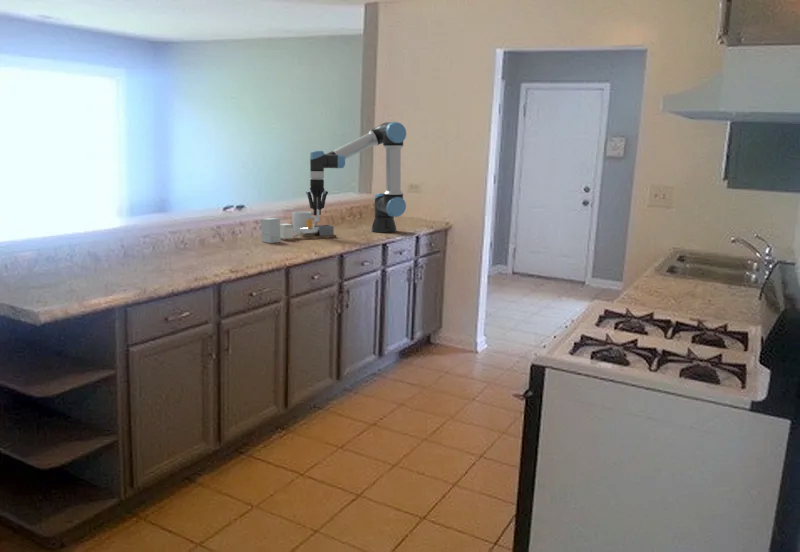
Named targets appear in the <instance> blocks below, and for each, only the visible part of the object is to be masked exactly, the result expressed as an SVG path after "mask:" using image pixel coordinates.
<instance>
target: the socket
mask: <svg viewBox="0 0 800 552" xmlns="http://www.w3.org/2000/svg"><path fill="white" fill-rule="evenodd" d="M293 236H294V229H293V224H291V223H280V238H283V239H289V238H293Z"/></svg>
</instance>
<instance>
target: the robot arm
mask: <svg viewBox="0 0 800 552" xmlns="http://www.w3.org/2000/svg"><path fill="white" fill-rule="evenodd" d="M406 138H407V129H406V127H405V126H404V125H403V123H401V122H397V121H389V122H383V123H380V125H378V126H376V127H374V128H372V129H370V130H368V133H365V134H364V135H362V136H360V137H358V138H356V139H354V140H351V141H350V142H348V143H346V144H344V145H342V146H340V147H337V148H336V149H333V150H331V151H329V152H327V153H325V152H324V150H311V151H310V154H309V155H310V156H309V157H310V158H309V163H310V164H309V166H310V169H309V173H310V174H309V176H310V177H309V178H310V181H309V183H310V185H309V187H310V188H309V190H308V191H305V194H306V195H307V199H308V203H309V208H310V209H312V210H313V216H314V218H315V221H316V222H320V216H321V210H322V209H324V208H325V204H326V201H327V200H326V199H327V195H328V194H329V191H328V190H325V188H324V187H325V180H324V178H325V169H343V168H344V167H345V165H346V160H347V159H348V158H350V157H352V156H355V155H357V154H359V153H361V152H363V151H365V150H367V149H370V147H373V146H380V145H381V144H382V146H383V148H385V191H384V192H381V193H380V192H379V193H376V194H375V195H374V199H373V200H374V219H373V222H372V225H371V232H373V231H374V233H382V232H386V233H396V232H397V225H396V221H395V218H397V217H400V216H403V214H404V213H405V211H406V208H407V203H406V201H405V200H404V193H403V192H402V189H401V186H402V185H401V184H402V183H401V176H402V175H401V173H402V172H401V166H402V165H401V164H402V163H401V161H402V160H401V152H402V151H401V150H402V148H403V147H404V140H405V139H406ZM394 217H395V218H394Z"/></svg>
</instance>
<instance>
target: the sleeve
mask: <svg viewBox="0 0 800 552" xmlns="http://www.w3.org/2000/svg"><path fill="white" fill-rule="evenodd" d="M313 226H314V225H313ZM314 227H319V236H328V235H335V234H334V231H335V230H334V227H335V226H334V225H331V224H322V225H321V224H320V225H316V226H314Z"/></svg>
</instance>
